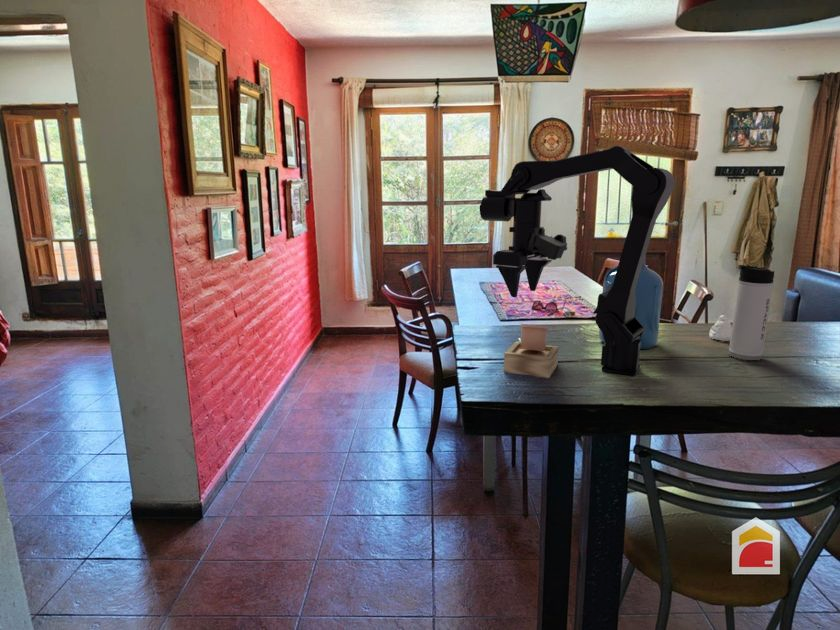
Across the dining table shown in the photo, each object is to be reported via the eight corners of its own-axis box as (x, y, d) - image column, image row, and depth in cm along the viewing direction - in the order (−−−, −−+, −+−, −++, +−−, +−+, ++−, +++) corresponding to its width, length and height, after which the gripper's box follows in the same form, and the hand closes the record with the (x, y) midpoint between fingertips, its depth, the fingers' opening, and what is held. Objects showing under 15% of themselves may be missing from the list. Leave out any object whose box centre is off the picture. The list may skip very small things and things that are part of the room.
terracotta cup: (551, 351, 107) (553, 326, 107) (527, 349, 105) (529, 324, 105) (537, 349, 112) (539, 326, 112) (514, 348, 110) (516, 323, 110)
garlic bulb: (708, 312, 132) (733, 313, 131) (705, 335, 134) (729, 337, 132) (715, 317, 127) (740, 318, 126) (712, 341, 128) (737, 343, 127)
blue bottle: (630, 333, 135) (641, 213, 129) (670, 347, 123) (685, 215, 117) (585, 338, 131) (594, 214, 124) (623, 353, 119) (635, 216, 112)
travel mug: (722, 351, 120) (734, 263, 116) (754, 353, 119) (768, 264, 114) (732, 360, 114) (745, 267, 110) (766, 362, 113) (781, 268, 108)
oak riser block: (557, 366, 112) (558, 346, 111) (548, 379, 104) (550, 358, 103) (515, 360, 115) (515, 341, 114) (503, 373, 107) (504, 353, 106)
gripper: (543, 226, 103) (539, 305, 106) (579, 221, 117) (574, 291, 121) (492, 224, 109) (490, 298, 113) (532, 220, 124) (529, 286, 127)
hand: (523, 293), depth 118 cm, fingers open, 9 cm apart
